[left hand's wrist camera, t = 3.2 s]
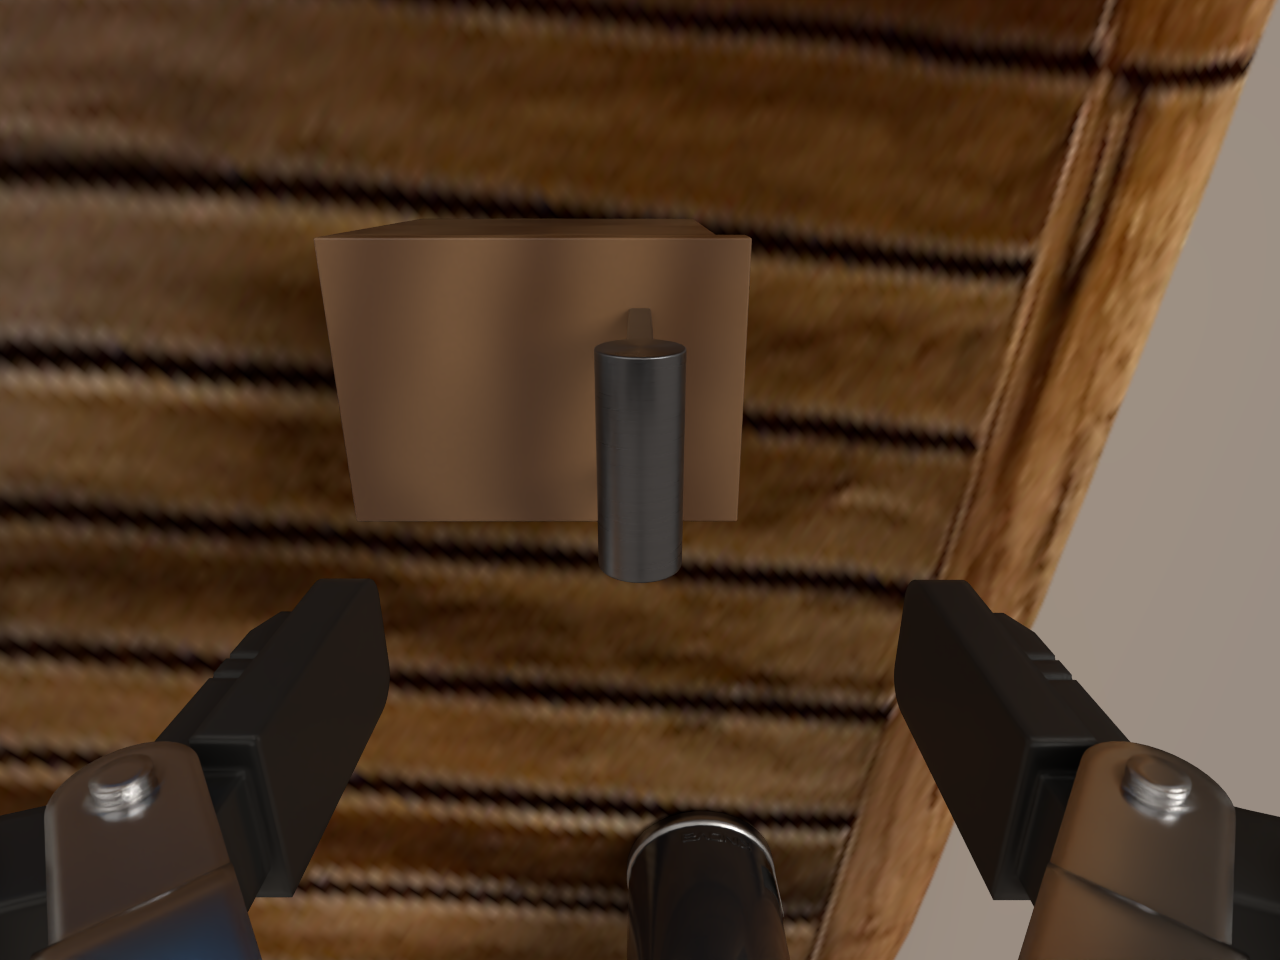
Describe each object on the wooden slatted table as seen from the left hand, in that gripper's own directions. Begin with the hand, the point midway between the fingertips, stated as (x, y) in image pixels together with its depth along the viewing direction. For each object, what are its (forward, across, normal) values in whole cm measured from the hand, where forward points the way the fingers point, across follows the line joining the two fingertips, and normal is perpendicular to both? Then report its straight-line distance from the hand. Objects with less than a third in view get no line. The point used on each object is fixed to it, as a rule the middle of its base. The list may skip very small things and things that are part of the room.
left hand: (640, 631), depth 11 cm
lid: (+16, +3, 0) cm, 16 cm away
